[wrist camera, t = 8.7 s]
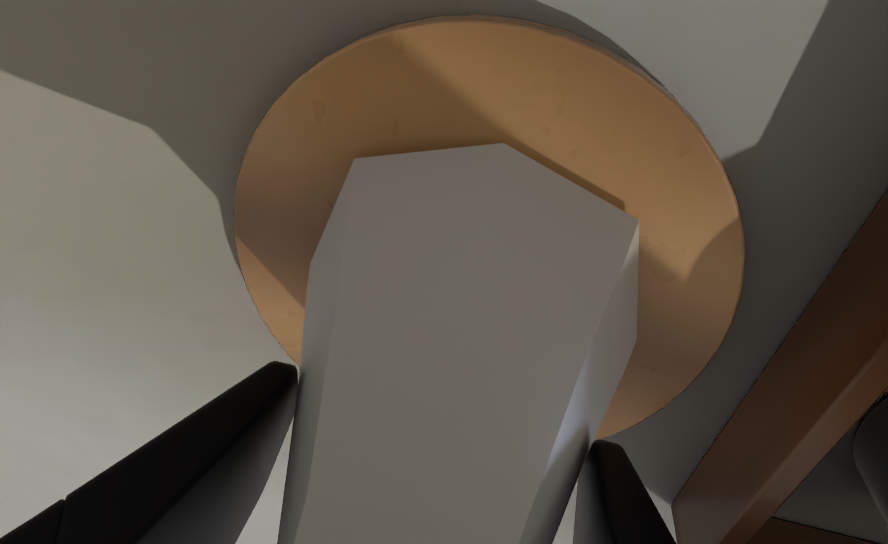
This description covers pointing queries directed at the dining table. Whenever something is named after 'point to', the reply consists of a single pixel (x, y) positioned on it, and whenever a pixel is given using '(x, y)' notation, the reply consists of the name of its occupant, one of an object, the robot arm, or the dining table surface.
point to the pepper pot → (874, 454)
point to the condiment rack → (797, 407)
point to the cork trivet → (526, 130)
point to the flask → (456, 350)
